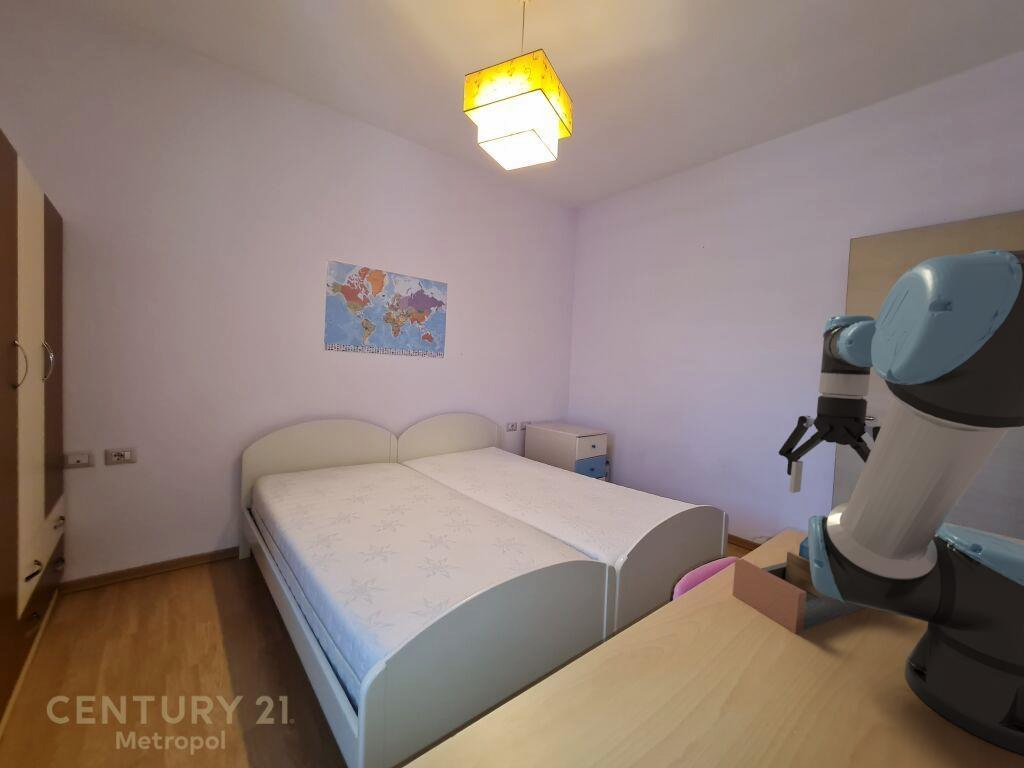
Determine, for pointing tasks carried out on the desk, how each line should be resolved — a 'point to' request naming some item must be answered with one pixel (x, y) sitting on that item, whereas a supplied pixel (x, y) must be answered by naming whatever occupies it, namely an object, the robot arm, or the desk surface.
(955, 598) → the robot arm
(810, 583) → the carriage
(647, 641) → the desk surface
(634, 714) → the desk surface
